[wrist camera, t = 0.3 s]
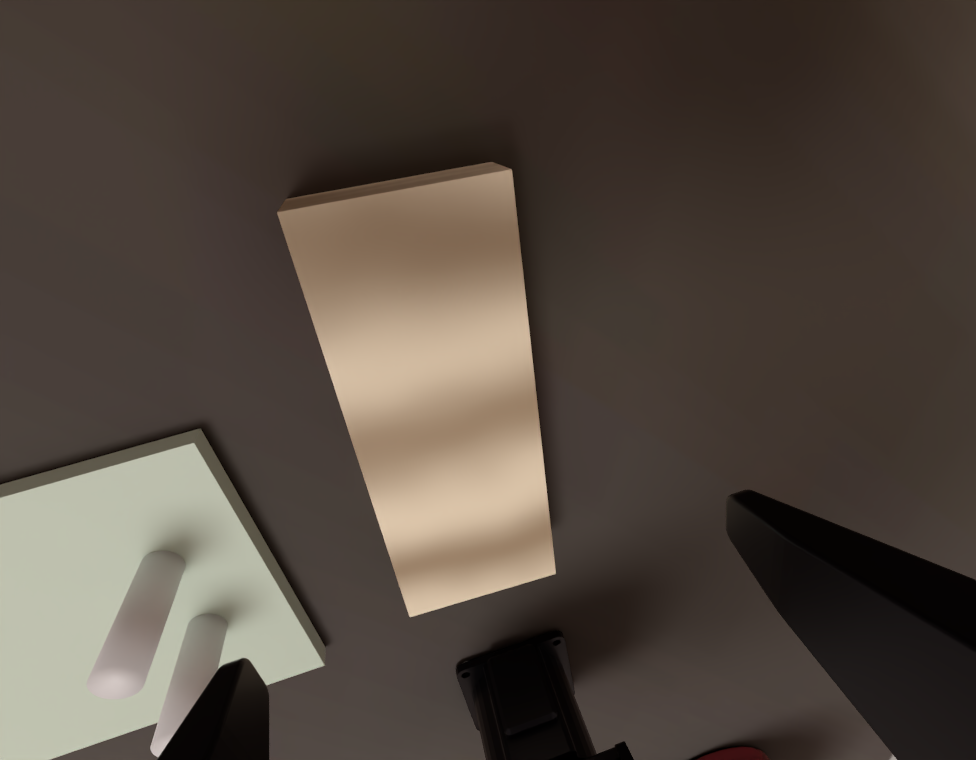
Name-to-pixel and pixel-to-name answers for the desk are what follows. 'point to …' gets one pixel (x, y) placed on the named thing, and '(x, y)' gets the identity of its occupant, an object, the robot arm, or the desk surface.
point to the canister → (736, 754)
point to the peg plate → (97, 572)
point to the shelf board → (433, 372)
